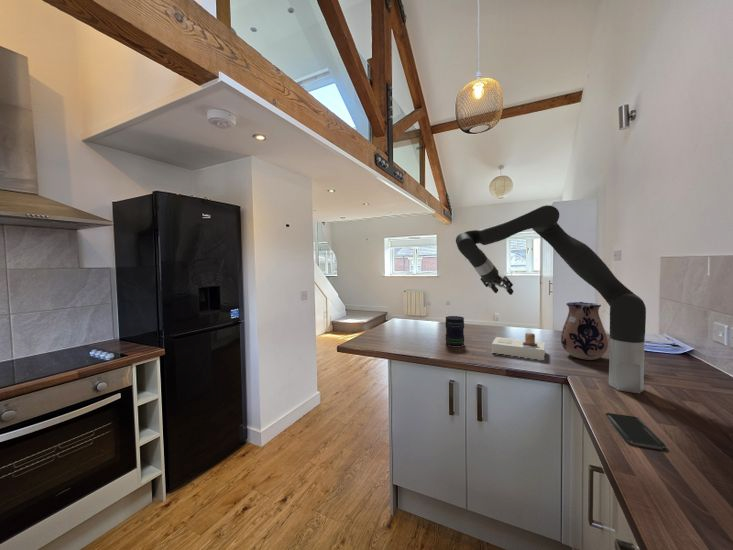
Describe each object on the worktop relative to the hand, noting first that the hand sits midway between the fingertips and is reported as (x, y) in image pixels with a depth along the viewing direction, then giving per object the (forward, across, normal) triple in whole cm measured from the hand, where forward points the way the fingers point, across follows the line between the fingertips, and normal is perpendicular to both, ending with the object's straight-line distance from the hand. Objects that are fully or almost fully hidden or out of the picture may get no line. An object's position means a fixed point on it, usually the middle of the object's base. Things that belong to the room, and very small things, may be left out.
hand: (504, 292), depth 138 cm
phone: (+9, -58, +35) cm, 69 cm away
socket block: (+30, +1, +14) cm, 33 cm away
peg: (+30, -3, +10) cm, 32 cm away
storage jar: (+17, +27, +27) cm, 41 cm away
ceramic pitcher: (+45, -15, -2) cm, 48 cm away
